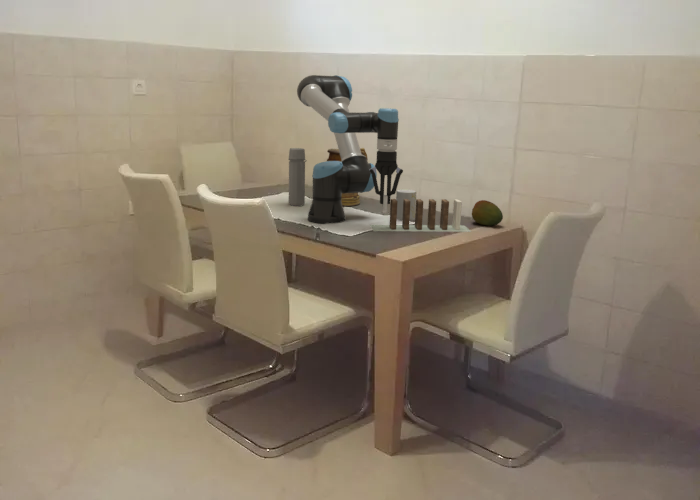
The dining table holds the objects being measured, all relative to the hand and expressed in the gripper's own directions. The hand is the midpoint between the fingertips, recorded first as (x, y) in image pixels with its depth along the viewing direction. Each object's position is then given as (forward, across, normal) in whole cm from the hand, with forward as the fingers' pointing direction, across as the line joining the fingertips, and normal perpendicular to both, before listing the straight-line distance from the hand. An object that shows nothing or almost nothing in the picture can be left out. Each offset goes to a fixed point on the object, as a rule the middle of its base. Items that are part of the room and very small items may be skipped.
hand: (384, 212), depth 260 cm
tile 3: (+6, +14, +1) cm, 15 cm away
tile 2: (+6, +8, +1) cm, 11 cm away
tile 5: (+6, +24, +1) cm, 24 cm away
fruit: (+7, +43, +10) cm, 45 cm away
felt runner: (+7, +14, +1) cm, 16 cm away
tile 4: (+6, +18, +1) cm, 20 cm away
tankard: (+6, -11, +55) cm, 56 cm away
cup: (+7, +11, +18) cm, 23 cm away
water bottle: (+6, -33, +47) cm, 58 cm away
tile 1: (+6, +4, 0) cm, 7 cm away
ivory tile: (+6, +28, +1) cm, 29 cm away
